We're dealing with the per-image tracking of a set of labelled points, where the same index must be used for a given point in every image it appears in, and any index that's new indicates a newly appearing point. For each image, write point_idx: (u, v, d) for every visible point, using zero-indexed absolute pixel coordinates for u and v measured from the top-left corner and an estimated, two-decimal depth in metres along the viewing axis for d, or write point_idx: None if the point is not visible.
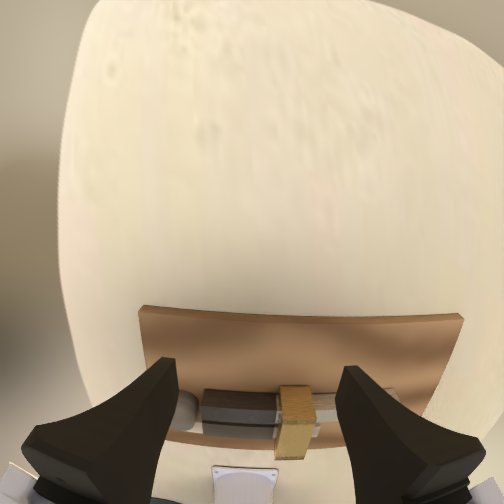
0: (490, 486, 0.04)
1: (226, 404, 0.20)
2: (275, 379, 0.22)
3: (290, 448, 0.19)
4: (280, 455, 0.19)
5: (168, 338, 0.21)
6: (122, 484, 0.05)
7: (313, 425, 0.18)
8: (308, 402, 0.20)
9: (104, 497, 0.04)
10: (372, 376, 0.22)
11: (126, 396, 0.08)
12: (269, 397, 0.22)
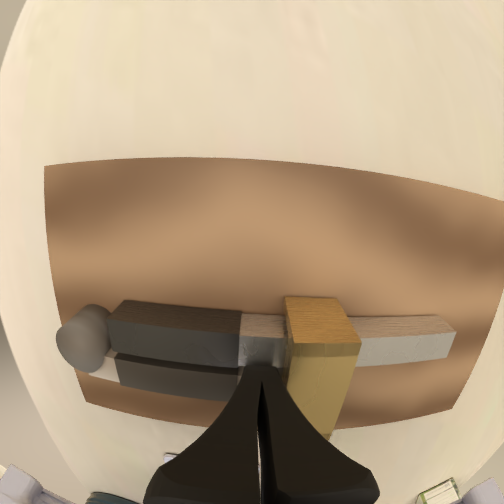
0: (490, 486, 0.04)
1: (149, 319, 0.12)
2: (239, 279, 0.13)
3: (306, 416, 0.10)
4: None
5: (75, 203, 0.12)
6: None
7: (354, 359, 0.10)
8: (339, 318, 0.11)
9: None
10: (407, 287, 0.13)
11: (236, 413, 0.08)
12: (229, 315, 0.13)
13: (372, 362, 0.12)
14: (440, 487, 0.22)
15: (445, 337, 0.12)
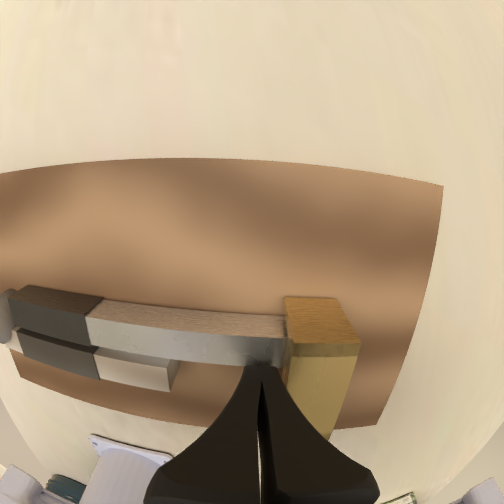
0: (490, 486, 0.04)
1: (32, 299, 0.12)
2: (98, 268, 0.13)
3: (306, 416, 0.10)
4: None
5: None
6: None
7: (353, 359, 0.10)
8: (338, 318, 0.11)
9: None
10: (266, 282, 0.13)
11: (236, 412, 0.08)
12: (89, 300, 0.13)
13: (213, 360, 0.12)
14: (398, 501, 0.22)
15: None
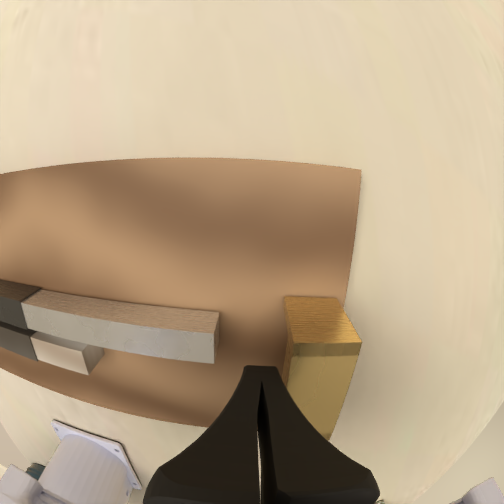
0: (490, 486, 0.04)
1: None
2: (36, 262, 0.13)
3: (306, 416, 0.10)
4: None
5: None
6: None
7: (354, 358, 0.10)
8: (339, 317, 0.11)
9: None
10: (165, 274, 0.13)
11: (236, 412, 0.08)
12: (29, 289, 0.13)
13: (115, 346, 0.12)
14: None
15: (196, 337, 0.12)
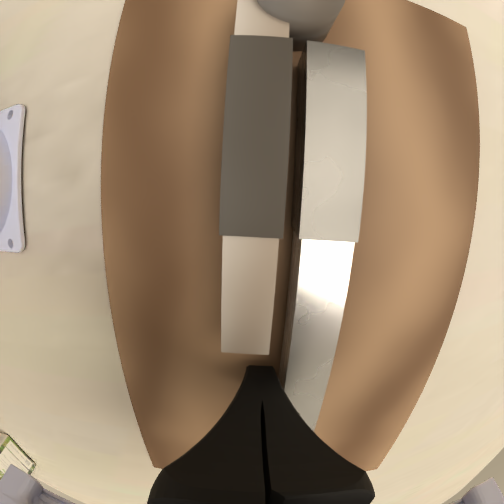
0: (490, 486, 0.04)
1: None
2: (374, 226, 0.10)
3: None
4: None
5: (441, 48, 0.08)
6: None
7: None
8: None
9: None
10: (336, 398, 0.13)
11: (239, 412, 0.08)
12: None
13: None
14: (22, 456, 0.18)
15: None
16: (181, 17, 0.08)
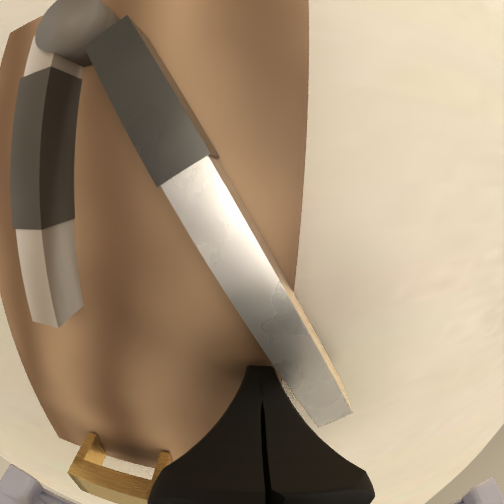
0: (490, 486, 0.04)
1: (153, 55, 0.07)
2: (153, 215, 0.10)
3: (99, 491, 0.10)
4: (78, 478, 0.10)
5: (254, 7, 0.08)
6: None
7: None
8: None
9: None
10: (168, 392, 0.13)
11: (239, 413, 0.08)
12: (210, 142, 0.09)
13: (270, 350, 0.09)
14: None
15: (341, 406, 0.10)
16: None
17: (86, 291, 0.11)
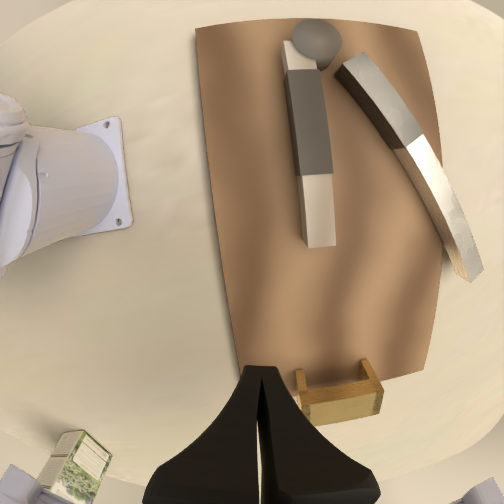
0: (490, 486, 0.04)
1: None
2: (378, 168, 0.17)
3: (329, 411, 0.17)
4: (310, 408, 0.17)
5: (401, 52, 0.14)
6: None
7: (370, 414, 0.17)
8: None
9: None
10: (380, 292, 0.19)
11: (235, 412, 0.08)
12: None
13: (452, 228, 0.15)
14: (99, 448, 0.26)
15: (479, 264, 0.16)
16: (242, 54, 0.15)
17: None
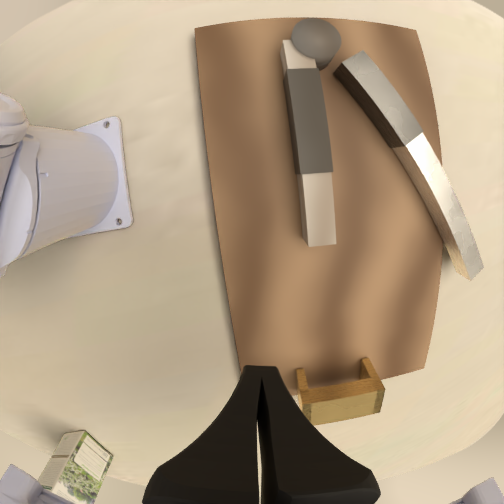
0: (490, 486, 0.04)
1: None
2: (378, 166, 0.17)
3: (330, 410, 0.17)
4: (311, 406, 0.17)
5: (400, 51, 0.14)
6: None
7: (371, 413, 0.17)
8: None
9: None
10: (380, 291, 0.19)
11: (235, 412, 0.08)
12: None
13: (452, 227, 0.15)
14: (100, 449, 0.26)
15: (479, 262, 0.16)
16: (241, 54, 0.15)
17: None
